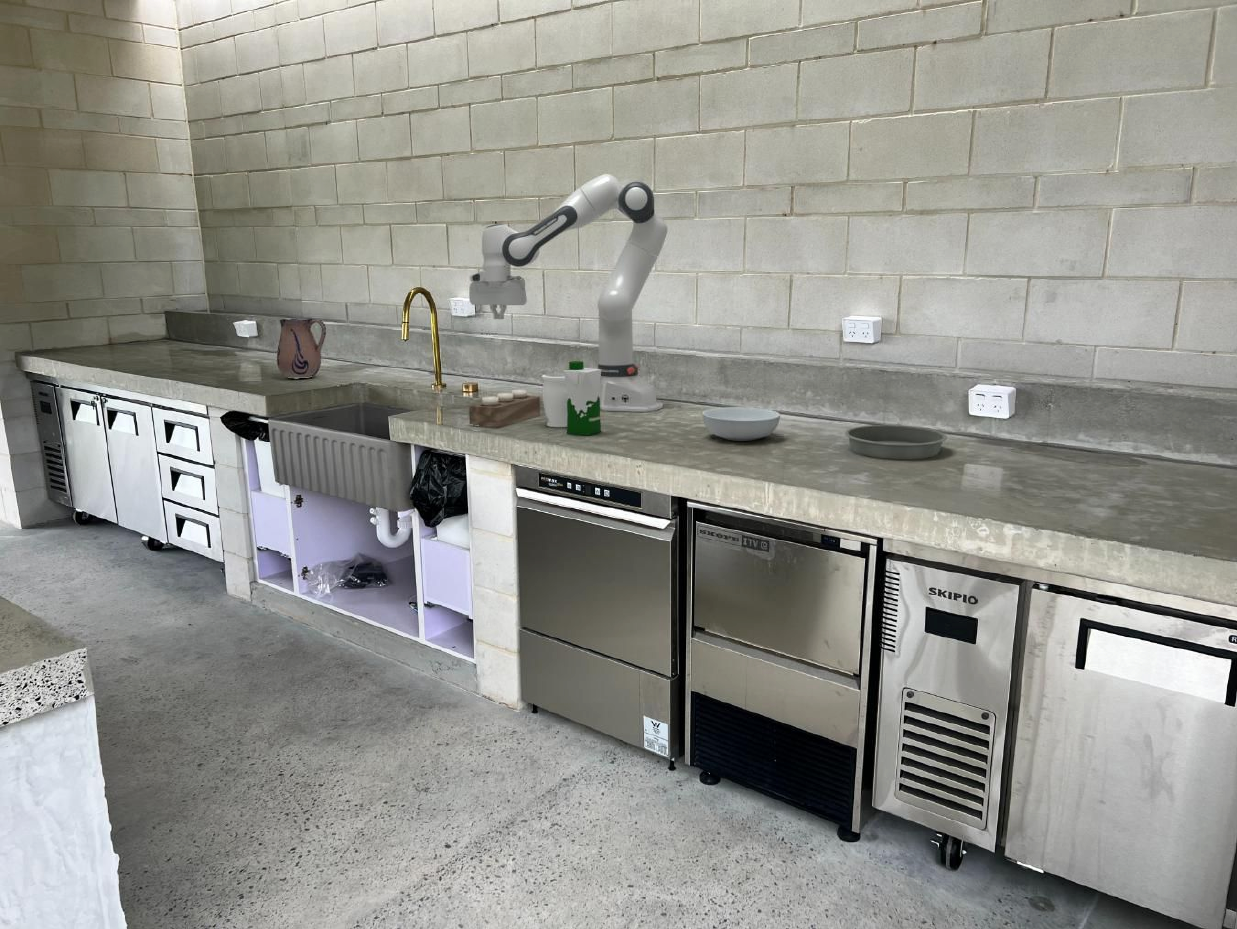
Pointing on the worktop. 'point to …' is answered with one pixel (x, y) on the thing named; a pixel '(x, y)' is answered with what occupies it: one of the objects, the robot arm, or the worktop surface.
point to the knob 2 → (519, 393)
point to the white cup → (555, 399)
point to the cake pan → (895, 441)
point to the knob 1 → (490, 401)
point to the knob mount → (505, 412)
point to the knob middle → (505, 397)
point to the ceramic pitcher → (299, 348)
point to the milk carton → (583, 399)
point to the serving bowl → (741, 422)
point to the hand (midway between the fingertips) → (498, 319)
